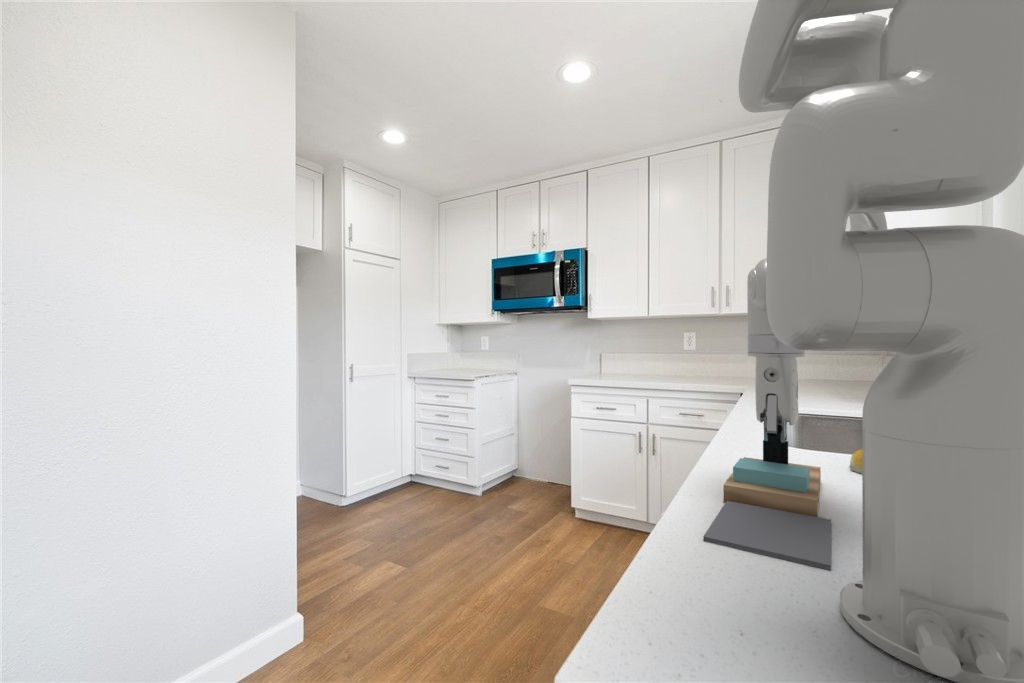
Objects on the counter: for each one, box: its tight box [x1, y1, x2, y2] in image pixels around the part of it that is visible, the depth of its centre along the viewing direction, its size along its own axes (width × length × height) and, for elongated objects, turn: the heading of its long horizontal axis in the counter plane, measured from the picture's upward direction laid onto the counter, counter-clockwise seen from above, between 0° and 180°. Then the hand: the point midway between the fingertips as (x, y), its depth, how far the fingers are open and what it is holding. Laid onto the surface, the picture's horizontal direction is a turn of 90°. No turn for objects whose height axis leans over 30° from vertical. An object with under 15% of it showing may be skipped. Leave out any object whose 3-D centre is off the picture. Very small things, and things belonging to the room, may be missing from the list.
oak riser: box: [723, 457, 822, 517], centre depth 69 cm, size 18×11×2 cm, turn 145°
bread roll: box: [849, 448, 862, 475], centre depth 79 cm, size 8×9×4 cm
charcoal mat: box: [702, 501, 832, 571], centre depth 55 cm, size 14×12×1 cm
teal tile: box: [732, 457, 809, 493], centre depth 67 cm, size 6×9×2 cm, turn 54°
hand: (775, 466), depth 70 cm, fingers closed
